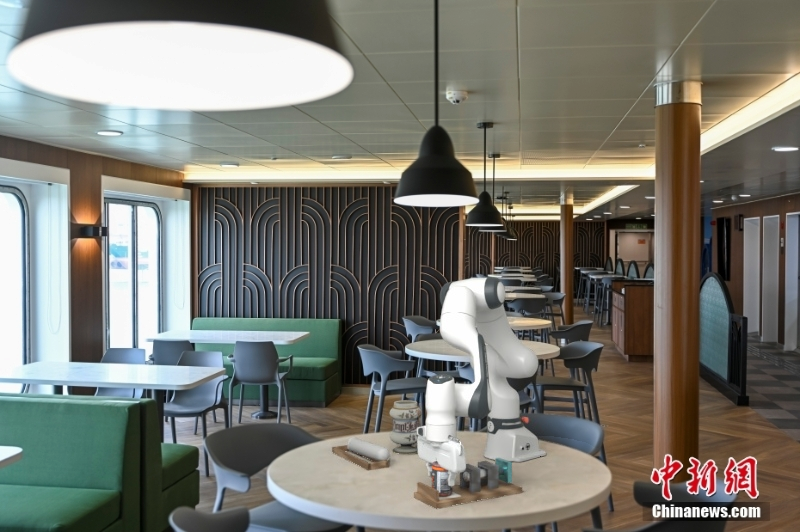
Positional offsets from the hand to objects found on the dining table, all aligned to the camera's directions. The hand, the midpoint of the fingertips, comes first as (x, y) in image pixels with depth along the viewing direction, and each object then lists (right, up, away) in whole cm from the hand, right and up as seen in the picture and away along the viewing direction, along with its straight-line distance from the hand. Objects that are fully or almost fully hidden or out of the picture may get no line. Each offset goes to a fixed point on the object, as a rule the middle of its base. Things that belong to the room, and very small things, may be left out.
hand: (441, 481), depth 209 cm
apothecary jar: (-10, -6, +58) cm, 59 cm away
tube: (-25, -3, +46) cm, 52 cm away
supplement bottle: (0, -4, 0) cm, 4 cm away
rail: (+8, -5, +5) cm, 11 cm away
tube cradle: (-26, -6, +46) cm, 53 cm away
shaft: (+14, -3, +8) cm, 16 cm away
